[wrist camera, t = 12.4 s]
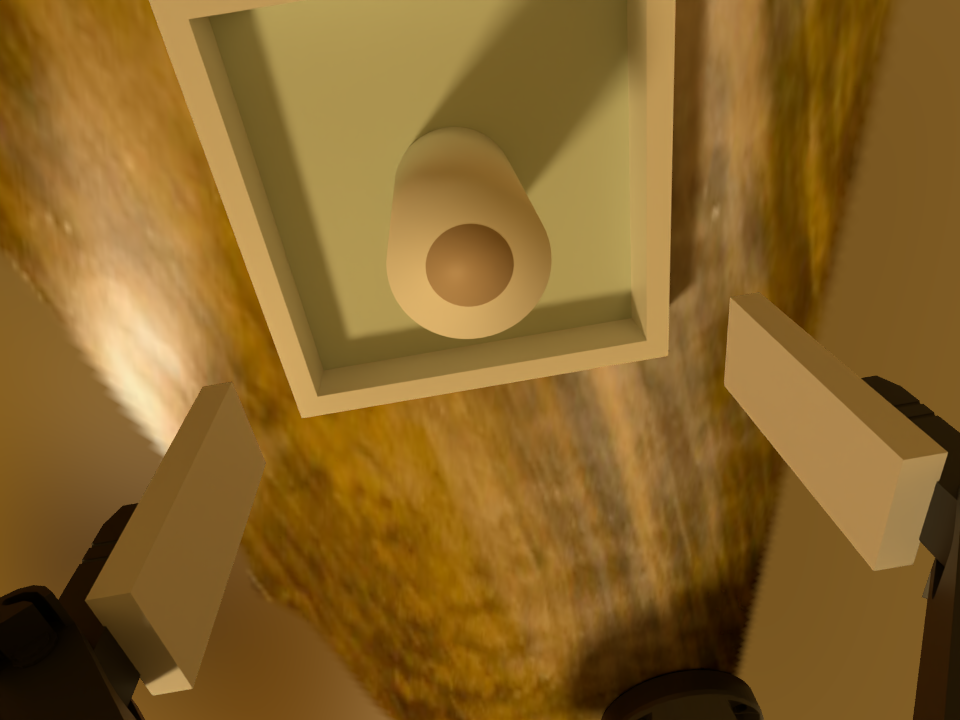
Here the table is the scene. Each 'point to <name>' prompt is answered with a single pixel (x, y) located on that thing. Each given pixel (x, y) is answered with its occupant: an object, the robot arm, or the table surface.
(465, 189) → the kitchen roll
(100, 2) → the table surface
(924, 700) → the robot arm
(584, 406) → the table surface
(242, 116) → the rectangular tray
